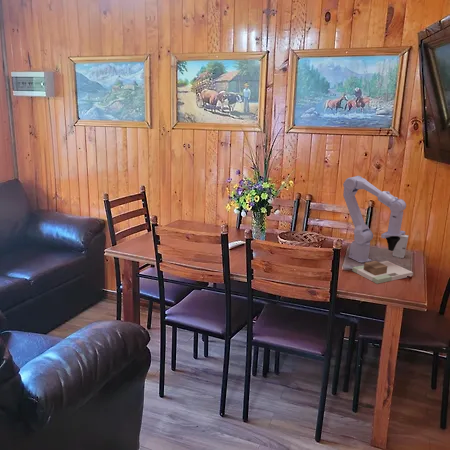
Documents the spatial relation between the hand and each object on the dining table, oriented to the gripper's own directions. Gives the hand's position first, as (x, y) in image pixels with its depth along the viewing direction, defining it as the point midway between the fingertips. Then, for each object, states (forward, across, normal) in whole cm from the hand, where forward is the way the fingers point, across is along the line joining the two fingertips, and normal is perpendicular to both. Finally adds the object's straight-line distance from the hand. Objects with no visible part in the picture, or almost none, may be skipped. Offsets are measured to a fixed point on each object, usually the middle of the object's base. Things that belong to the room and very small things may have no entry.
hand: (390, 250), depth 219 cm
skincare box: (+10, +19, +10) cm, 24 cm away
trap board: (+9, -9, -4) cm, 14 cm away
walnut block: (+7, -14, -4) cm, 16 cm away
